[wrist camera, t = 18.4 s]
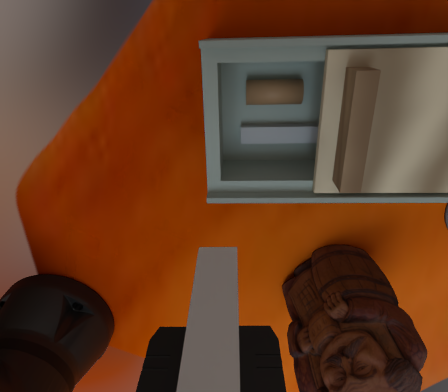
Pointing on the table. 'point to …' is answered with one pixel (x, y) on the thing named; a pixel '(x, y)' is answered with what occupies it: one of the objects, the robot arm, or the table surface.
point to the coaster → (446, 215)
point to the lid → (383, 121)
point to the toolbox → (278, 116)
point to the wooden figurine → (350, 327)
